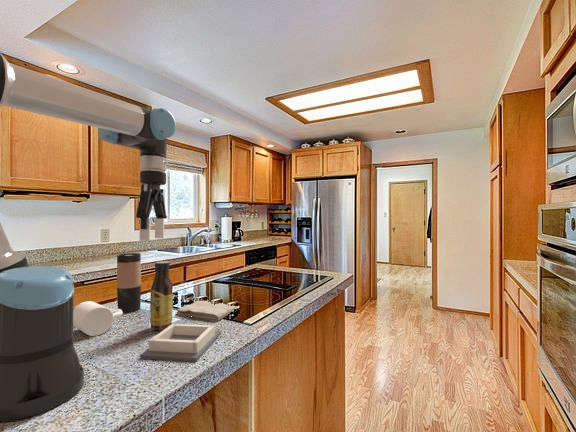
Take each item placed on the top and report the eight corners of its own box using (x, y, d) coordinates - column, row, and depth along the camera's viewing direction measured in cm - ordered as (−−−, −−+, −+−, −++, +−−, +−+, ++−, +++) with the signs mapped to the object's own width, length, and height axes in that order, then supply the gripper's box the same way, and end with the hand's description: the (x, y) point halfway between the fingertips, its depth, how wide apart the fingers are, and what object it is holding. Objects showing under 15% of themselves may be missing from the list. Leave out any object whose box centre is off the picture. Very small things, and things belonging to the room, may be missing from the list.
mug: (82, 340, 82) (82, 310, 82) (69, 331, 88) (69, 304, 88) (128, 327, 91) (127, 301, 91) (113, 320, 97) (113, 295, 97)
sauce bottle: (146, 327, 90) (146, 261, 90) (166, 322, 95) (166, 259, 95) (156, 333, 86) (155, 264, 86) (176, 327, 90) (176, 261, 90)
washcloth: (196, 306, 113) (196, 298, 113) (238, 312, 106) (238, 303, 106) (173, 316, 102) (173, 307, 102) (218, 323, 95) (218, 313, 95)
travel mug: (145, 308, 109) (145, 253, 109) (124, 314, 102) (124, 256, 103) (133, 305, 113) (133, 252, 113) (112, 311, 107) (112, 254, 107)
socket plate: (196, 361, 69) (196, 347, 69) (140, 358, 71) (139, 344, 71) (220, 334, 85) (220, 322, 85) (173, 332, 87) (173, 320, 87)
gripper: (152, 164, 82) (151, 241, 82) (175, 177, 107) (175, 237, 107) (123, 163, 81) (122, 242, 81) (153, 177, 106) (153, 237, 106)
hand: (152, 239), depth 94 cm, fingers open, 13 cm apart
